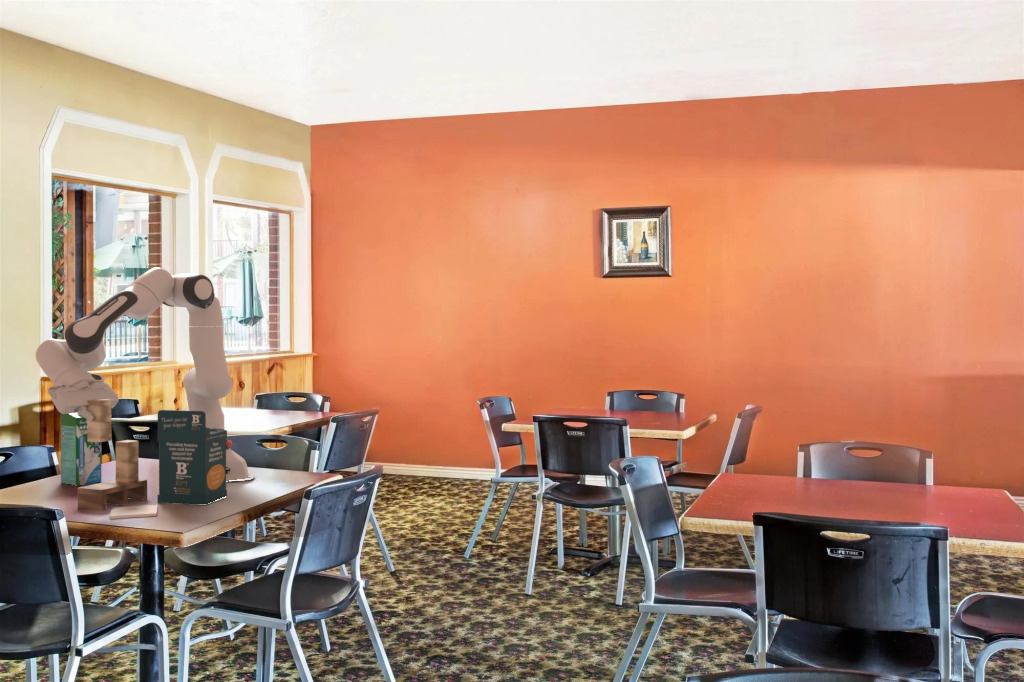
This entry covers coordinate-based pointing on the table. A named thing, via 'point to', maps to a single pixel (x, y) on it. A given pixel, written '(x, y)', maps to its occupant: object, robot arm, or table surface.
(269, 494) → the table surface
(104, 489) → the walnut shelf
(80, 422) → the milk carton
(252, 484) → the table surface
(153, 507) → the ceramic tile
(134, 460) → the block
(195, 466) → the donation box
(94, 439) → the block
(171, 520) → the table surface
